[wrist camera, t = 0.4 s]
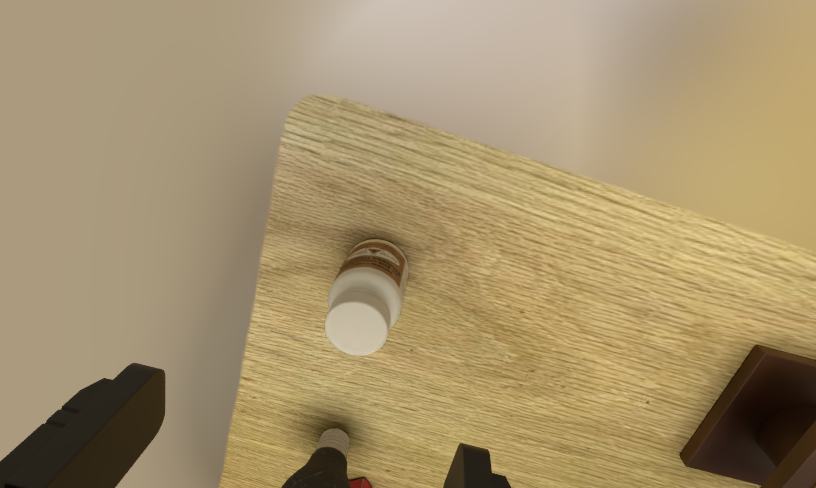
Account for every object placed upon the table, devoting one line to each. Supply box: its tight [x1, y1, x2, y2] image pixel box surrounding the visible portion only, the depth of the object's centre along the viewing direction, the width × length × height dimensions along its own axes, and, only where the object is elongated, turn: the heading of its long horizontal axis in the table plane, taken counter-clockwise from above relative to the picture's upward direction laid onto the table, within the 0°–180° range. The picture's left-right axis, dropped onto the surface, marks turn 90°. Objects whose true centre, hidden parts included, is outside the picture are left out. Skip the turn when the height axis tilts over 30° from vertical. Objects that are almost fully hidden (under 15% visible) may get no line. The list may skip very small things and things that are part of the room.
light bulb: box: [282, 428, 351, 488], centre depth 32 cm, size 6×6×10 cm
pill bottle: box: [325, 239, 409, 356], centre depth 27 cm, size 4×4×8 cm
